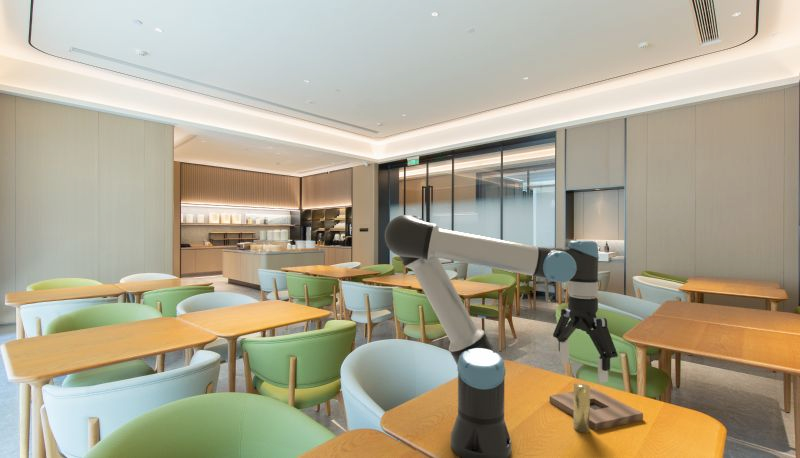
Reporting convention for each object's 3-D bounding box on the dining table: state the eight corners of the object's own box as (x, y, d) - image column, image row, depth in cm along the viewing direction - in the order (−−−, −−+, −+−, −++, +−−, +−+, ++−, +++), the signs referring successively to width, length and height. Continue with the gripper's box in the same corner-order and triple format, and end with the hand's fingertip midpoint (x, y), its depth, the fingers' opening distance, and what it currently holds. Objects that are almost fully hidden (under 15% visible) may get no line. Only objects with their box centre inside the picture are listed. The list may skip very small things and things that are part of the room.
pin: (581, 433, 103) (581, 389, 103) (570, 426, 107) (570, 384, 107) (592, 431, 105) (593, 387, 105) (581, 424, 108) (581, 382, 108)
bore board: (595, 430, 105) (595, 423, 105) (549, 401, 122) (549, 395, 122) (642, 419, 111) (643, 413, 111) (592, 393, 128) (592, 388, 128)
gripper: (633, 303, 95) (633, 388, 95) (560, 288, 119) (560, 356, 119) (611, 306, 93) (610, 392, 93) (540, 289, 116) (540, 359, 116)
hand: (582, 372), depth 106 cm, fingers open, 13 cm apart
